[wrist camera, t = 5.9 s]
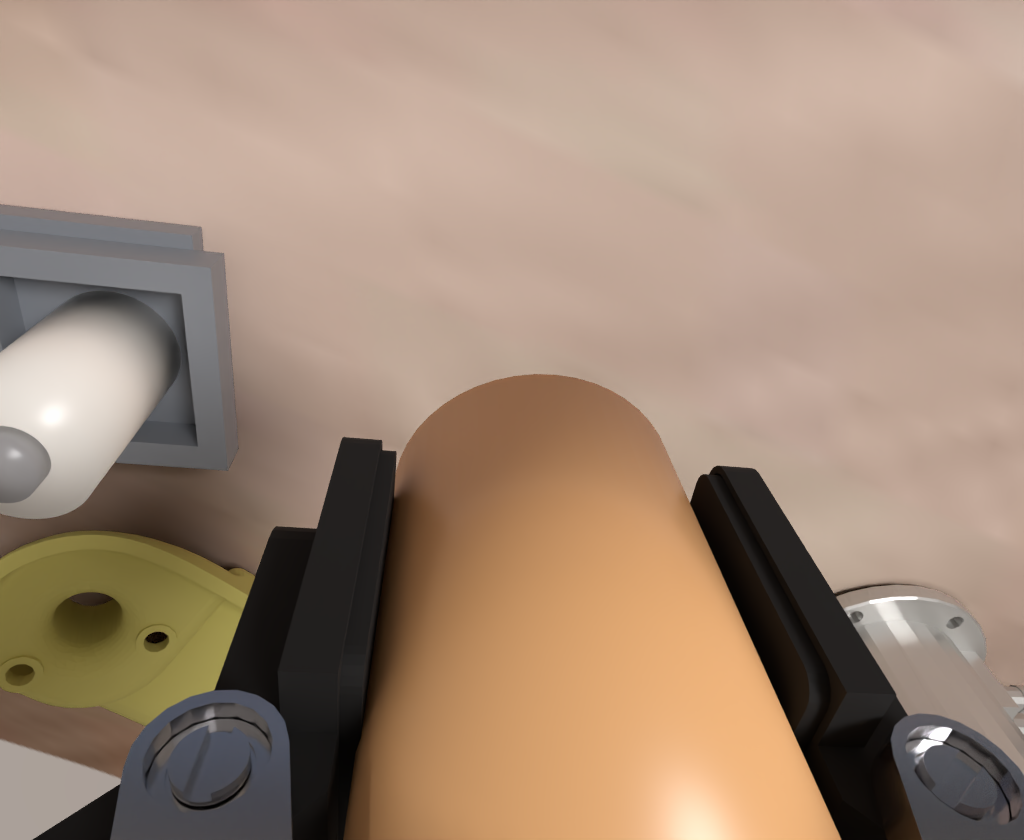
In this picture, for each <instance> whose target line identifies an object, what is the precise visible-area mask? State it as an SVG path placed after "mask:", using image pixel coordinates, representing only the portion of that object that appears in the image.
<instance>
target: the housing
mask: <svg viewBox="0 0 1024 840" xmlns="http://www.w3.org/2000/svg"><path fill="white" fill-rule="evenodd" d="M89 291H111V292H117V293H121V294H125V295H127V296H130V297H133V298H135V299H137V300H139V301H141V302H143V303H144V304H146V305H147V306H149V307H150V308H152V309H153V310H154V311H156V312H157V313H158V314H159V315H160V316H161V317H162V318H163V319H164V320H165V321H166V323H167V324H168V325H169V327H170V328H171V330H172V331H173V333H174V335H175V337H176V339H177V341H178V344H179V347H180V353H181V365H180V370H179V374H178V376H177V378H176V380H175V381H174V383H173V384H172V385H171V387H170V388H169V390H168V391H167V392H166V394H165V395H164V396H163V398H162V399H161V400H160V402H159V403H158V404H157V406H156V407H155V408H154V410H153V411H152V413H151V414H150V415H149V417H148V418H147V419H146V421H145V422H144V423H143V425H142V426H141V427H140V429H139V430H138V431H137V433H136V434H135V435H134V437H133V438H132V440H131V441H130V442H129V444H128V445H127V446H126V448H125V449H124V450H123V452H122V453H121V454H120V456H119V457H118V458H117V460H116V461H115V463H127V464H141V465H155V466H169V467H183V468H197V469H211V470H225V471H228V470H229V467H230V465H231V463H232V461H233V459H234V457H235V455H236V453H237V451H238V449H239V448H238V435H237V421H236V408H235V394H234V381H233V367H232V354H231V340H230V327H229V313H228V300H227V286H226V273H225V259H224V253H216V252H207V251H203V240H202V229H201V227H197V226H188V225H179V224H170V223H161V222H152V221H143V220H134V219H125V218H117V217H108V216H99V215H90V214H81V213H72V212H63V211H54V210H45V209H36V208H27V207H19V206H10V205H1V204H0V352H1V351H3V350H4V349H5V348H6V347H8V346H9V345H10V344H12V343H13V342H14V341H15V340H17V339H18V338H19V337H21V336H22V335H23V334H24V333H26V332H27V331H28V330H30V329H31V328H32V327H33V326H35V325H36V324H37V323H39V322H40V321H41V320H43V319H44V318H45V317H46V316H48V315H49V314H50V313H52V312H53V311H54V310H55V309H57V308H58V307H59V306H61V305H62V304H63V303H64V302H66V301H67V300H68V299H70V298H72V297H74V296H75V295H78V294H81V293H84V292H89Z"/></svg>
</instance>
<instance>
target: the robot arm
mask: <svg viewBox="0 0 1024 840" xmlns="http://www.w3.org/2000/svg"><path fill="white" fill-rule="evenodd" d="M395 473H396V451H384V450H382V440H373V439H360V438H347V437H343V438H342V440H341V444H340V447H339V451H338V454H337V458H336V462H335V465H334V469H333V473H332V476H331V480H330V483H329V487H328V491H327V494H326V498H325V502H324V505H323V509H322V512H321V516H320V520H319V523H318V527H317V529H310V528H294V527H278V526H276V527H275V528H274V529H273V531H272V533H271V535H270V537H269V540H268V542H267V545H266V548H265V551H264V554H263V556H262V559H261V562H260V565H259V567H258V570H257V573H256V576H255V579H254V581H253V584H252V587H251V590H250V592H249V595H248V598H247V601H246V604H245V606H244V609H243V612H242V615H241V617H240V620H239V623H238V626H237V629H236V631H235V634H234V637H233V640H232V642H231V645H230V648H229V651H228V654H227V656H226V659H225V662H224V665H223V667H222V670H221V673H220V676H219V679H218V681H217V684H216V687H215V690H214V691H210V692H206V693H202V694H198V695H194V696H191V697H188V698H186V699H184V700H182V701H180V702H179V703H177V704H175V705H173V706H171V707H169V708H167V709H166V710H164V711H163V712H162V713H161V714H160V715H158V716H157V717H156V718H155V719H154V720H152V721H151V722H150V723H149V724H147V725H146V727H145V728H144V729H143V731H142V732H141V734H140V735H139V736H138V738H137V739H136V740H135V742H134V743H133V744H132V746H131V748H130V751H129V754H128V757H127V759H126V762H125V765H124V768H123V773H122V778H121V783H120V785H118V786H116V787H115V788H113V789H112V790H110V791H108V792H107V793H105V794H104V795H102V796H101V797H99V798H98V799H96V800H94V801H93V802H91V803H90V804H88V805H87V806H85V807H83V808H82V809H80V810H79V811H77V812H75V813H74V814H72V815H71V816H69V817H68V818H66V819H64V820H63V821H61V822H60V823H58V824H56V825H55V826H53V827H52V828H50V829H49V830H47V831H45V832H44V833H42V834H41V835H39V836H38V837H36V838H34V839H33V840H343V837H344V830H345V823H346V816H347V809H348V802H349V795H350V788H351V781H352V774H353V767H354V760H355V753H356V750H357V747H358V745H359V742H360V739H361V734H362V726H363V719H364V712H365V705H366V698H367V690H368V683H369V676H370V669H371V661H372V654H373V647H374V640H375V633H376V625H377V618H378V611H379V604H380V596H381V589H382V582H383V575H384V568H385V560H386V553H387V546H388V539H389V531H390V524H391V517H392V510H393V503H394V491H395ZM690 505H691V507H692V509H693V511H694V514H695V516H696V518H697V520H698V523H699V525H700V527H701V529H702V531H703V534H704V536H705V538H706V540H707V542H708V545H709V547H710V549H711V551H712V554H713V556H714V558H715V560H716V562H717V565H718V567H719V569H720V571H721V574H722V576H723V578H724V580H725V582H726V585H727V587H728V589H729V591H730V593H731V596H732V598H733V600H734V602H735V605H736V607H737V609H738V611H739V613H740V616H741V618H742V620H743V622H744V625H745V627H746V629H747V631H748V633H749V636H750V638H751V640H752V642H753V645H754V647H755V649H756V651H757V653H758V656H759V658H760V660H761V662H762V664H763V667H764V669H765V671H766V673H767V676H768V678H769V680H770V682H771V684H772V687H773V689H774V691H775V693H776V696H777V698H778V700H779V702H780V704H781V707H782V709H783V711H784V713H785V716H786V718H787V720H788V722H789V724H790V727H791V729H792V731H793V733H794V735H795V738H796V740H797V742H798V744H799V747H800V749H801V751H802V753H803V755H804V758H805V760H806V762H807V764H808V767H809V769H810V771H811V773H812V775H813V778H814V780H815V782H816V784H817V786H818V789H819V791H820V793H821V795H822V798H823V800H824V802H825V804H826V806H827V809H828V811H829V813H830V815H831V818H832V820H833V822H834V824H835V826H836V829H837V831H838V833H839V835H840V838H841V840H1024V686H1020V685H1010V686H1003V685H1002V684H1001V683H1000V682H999V681H998V680H997V678H996V677H995V676H994V675H993V673H992V672H991V671H990V670H989V668H988V667H987V666H986V664H985V663H984V662H985V657H986V653H987V651H986V638H985V636H984V633H983V631H982V628H981V626H980V625H979V623H978V622H977V621H976V620H975V618H974V617H973V616H972V615H971V613H970V612H969V611H968V610H967V608H966V607H964V606H963V605H962V604H961V603H960V602H958V601H957V600H956V599H955V598H953V597H951V596H949V595H947V594H945V593H942V592H940V591H938V590H934V589H930V588H925V587H921V586H910V585H887V586H875V587H869V588H865V589H860V590H856V591H851V592H847V593H845V594H842V595H839V596H835V595H834V593H833V591H832V590H831V588H830V587H829V585H828V583H827V582H826V580H825V579H824V577H823V575H822V574H821V572H820V571H819V569H818V567H817V566H816V564H815V563H814V561H813V559H812V558H811V556H810V555H809V553H808V551H807V550H806V548H805V546H804V545H803V543H802V542H801V540H800V538H799V537H798V535H797V534H796V532H795V530H794V529H793V527H792V526H791V524H790V522H789V521H788V519H787V518H786V516H785V514H784V513H783V511H782V510H781V508H780V506H779V505H778V503H777V502H776V500H775V498H774V497H773V495H772V494H771V492H770V490H769V489H768V487H767V486H766V484H765V482H764V481H763V479H762V478H761V476H760V474H759V473H758V472H757V471H756V470H755V469H752V468H741V467H728V466H716V467H714V468H713V469H712V470H711V472H710V474H709V475H707V474H703V475H701V476H700V477H699V479H698V481H697V483H696V486H695V490H694V493H693V496H692V499H691V502H690Z"/></svg>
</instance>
